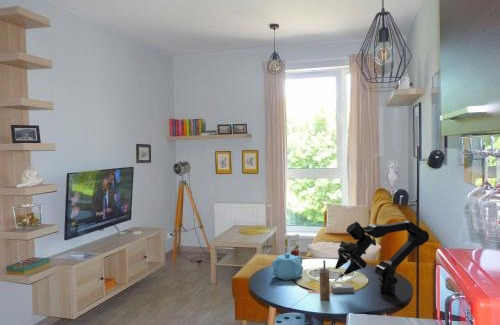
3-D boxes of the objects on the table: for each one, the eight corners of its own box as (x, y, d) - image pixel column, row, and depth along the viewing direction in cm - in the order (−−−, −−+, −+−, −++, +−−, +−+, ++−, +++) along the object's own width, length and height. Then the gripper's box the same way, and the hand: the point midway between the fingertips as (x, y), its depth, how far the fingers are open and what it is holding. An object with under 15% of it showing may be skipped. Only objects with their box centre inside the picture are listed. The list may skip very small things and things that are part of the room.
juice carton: (283, 263, 246) (282, 233, 246) (295, 261, 250) (294, 232, 249) (289, 266, 239) (289, 235, 239) (301, 264, 243) (301, 234, 242)
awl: (328, 297, 184) (327, 259, 184) (330, 300, 180) (330, 261, 179) (319, 297, 184) (318, 259, 184) (321, 301, 180) (320, 262, 179)
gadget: (319, 270, 232) (319, 264, 232) (345, 273, 225) (345, 267, 225) (308, 282, 211) (307, 275, 211) (335, 286, 205) (335, 279, 205)
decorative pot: (279, 272, 229) (279, 248, 229) (306, 275, 222) (305, 251, 222) (268, 280, 215) (268, 255, 214) (296, 283, 208) (296, 258, 207)
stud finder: (350, 288, 196) (350, 282, 196) (354, 292, 190) (354, 286, 190) (330, 288, 195) (330, 283, 195) (333, 293, 189) (333, 287, 189)
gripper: (340, 231, 194) (320, 255, 191) (360, 239, 175) (337, 265, 173) (355, 246, 196) (335, 269, 193) (376, 255, 177) (354, 281, 175)
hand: (340, 271), depth 184 cm, fingers open, 9 cm apart
